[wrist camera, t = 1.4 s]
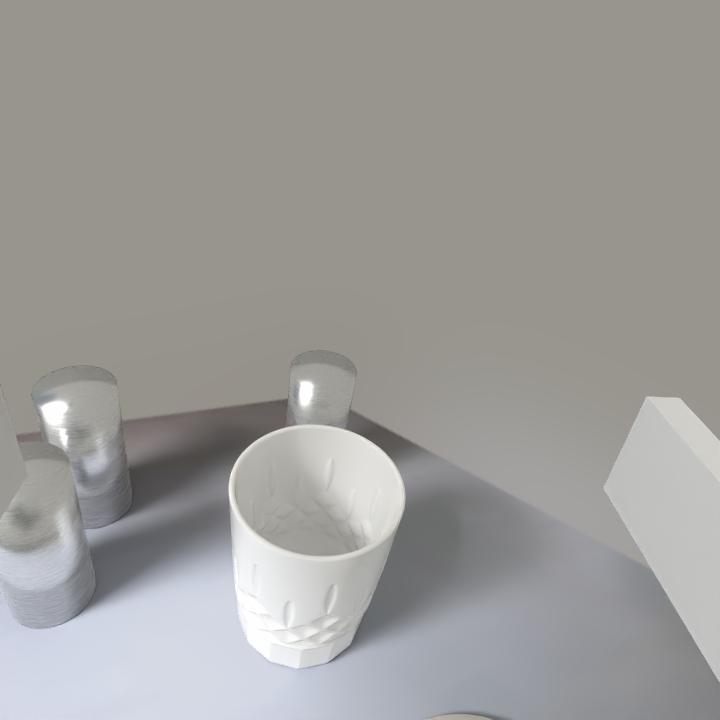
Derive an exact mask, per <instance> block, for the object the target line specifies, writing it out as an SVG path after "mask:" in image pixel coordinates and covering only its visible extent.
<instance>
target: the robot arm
mask: <svg viewBox="0 0 720 720" xmlns="http://www.w3.org/2000/svg"><path fill="white" fill-rule="evenodd" d="M27 475H28V474H27V471H26V468H25V464H24V461H23V458H22V455H21V451H20V448H19V445H18V441H17V438H16V435H15V432H14V428H13V425H12V422H11V418H10V415H9V412H8V409H7V405H6V402H5V399H4V395H3V392H2V389H1V385H0V519H1V517H2V516H3V514H4V512H5V511H6V509H7V508H8V506H9V504H10V503H11V501H12V499H13V498H14V496H15V494H16V493H17V491H18V490H19V488H20V486H21V485H22V483H23V481H24V480H25V478H26V477H27ZM604 490H605V492H606V493H607V495H608V497H609V498H610V500H611V502H612V504H613V505H614V507H615V508H616V510H617V512H618V514H619V515H620V517H621V519H622V520H623V522H624V524H625V525H626V527H627V529H628V530H629V532H630V534H631V535H632V537H633V539H634V540H635V542H636V544H637V545H638V547H639V549H640V550H641V552H642V554H643V555H644V557H645V559H646V560H647V562H648V564H649V565H650V567H651V569H652V570H653V572H654V574H655V575H656V577H657V579H658V580H659V582H660V584H661V585H662V587H663V589H664V590H665V592H666V594H667V595H668V597H669V599H670V601H671V602H672V604H673V606H674V607H675V609H676V611H677V612H678V614H679V616H680V617H681V619H682V621H683V622H684V624H685V626H686V627H687V629H688V631H689V632H690V634H691V636H692V637H693V639H694V641H695V642H696V644H697V646H698V647H699V649H700V651H701V652H702V654H703V656H704V657H705V659H706V661H707V662H708V664H709V666H710V667H711V669H712V671H713V672H714V674H715V676H716V677H717V679H718V681H719V682H720V441H719V440H718V439H717V438H716V437H715V436H714V434H712V432H711V431H710V430H709V429H708V428H707V427H706V426H705V425H704V424H703V423H702V422H701V420H699V418H698V417H697V416H696V415H695V414H694V413H693V412H692V411H691V410H690V409H689V408H688V407H687V405H686V404H685V403H684V402H683V401H682V400H681V399H680V398H668V397H646V399H645V401H644V403H643V405H642V407H641V409H640V411H639V414H638V416H637V418H636V420H635V422H634V424H633V426H632V429H631V430H630V433H629V435H628V437H627V439H626V441H625V443H624V445H623V447H622V450H621V452H620V454H619V456H618V458H617V460H616V462H615V464H614V466H613V469H612V471H611V473H610V475H609V477H608V479H607V481H606V483H605V485H604Z"/></svg>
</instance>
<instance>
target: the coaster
mask: <svg viewBox="0 0 720 720" xmlns="http://www.w3.org/2000/svg"><path fill="white" fill-rule="evenodd" d="M426 720H493V719H490V718H486V717H483V716H477V715H470V714H448V715H442V716H435V717H432V718H429V719H426Z"/></svg>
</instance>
